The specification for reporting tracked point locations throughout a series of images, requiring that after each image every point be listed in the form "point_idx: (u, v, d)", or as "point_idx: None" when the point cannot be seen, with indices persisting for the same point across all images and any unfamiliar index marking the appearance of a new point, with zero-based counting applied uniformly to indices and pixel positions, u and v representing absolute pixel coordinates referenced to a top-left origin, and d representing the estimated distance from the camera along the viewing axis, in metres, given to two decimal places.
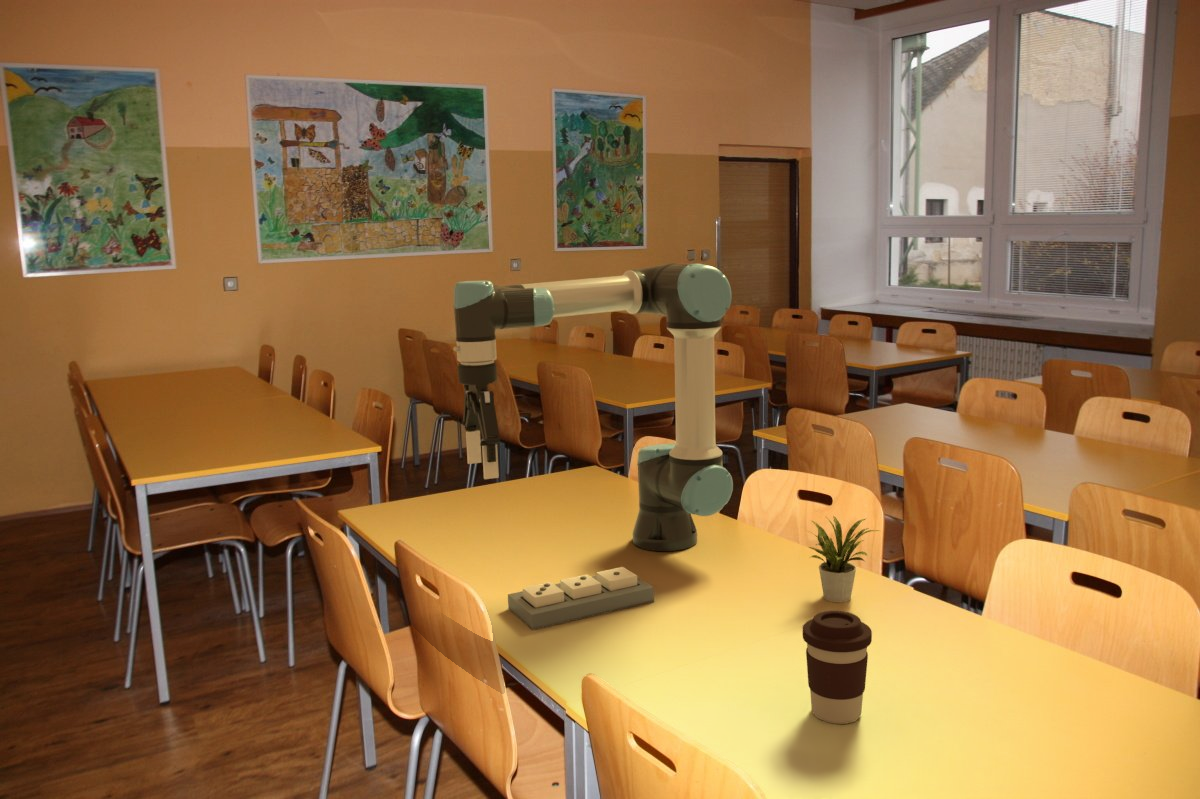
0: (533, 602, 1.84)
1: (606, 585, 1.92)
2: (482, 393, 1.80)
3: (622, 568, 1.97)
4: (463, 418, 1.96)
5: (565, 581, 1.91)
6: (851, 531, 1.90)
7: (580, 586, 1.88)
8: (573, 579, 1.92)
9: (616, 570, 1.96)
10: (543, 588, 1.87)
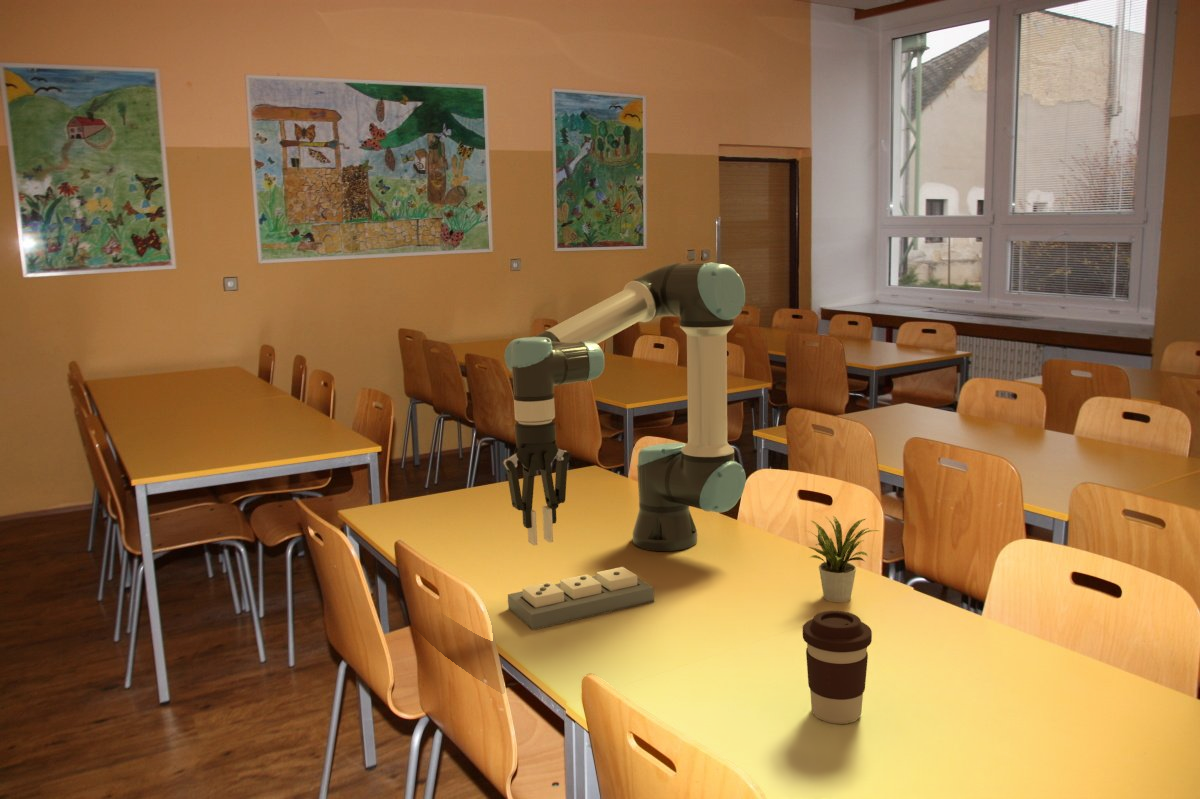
0: (533, 602, 1.84)
1: (606, 585, 1.92)
2: (503, 461, 1.80)
3: (622, 568, 1.97)
4: (558, 492, 1.87)
5: (565, 581, 1.91)
6: (851, 531, 1.90)
7: (580, 586, 1.88)
8: (573, 579, 1.92)
9: (616, 570, 1.96)
10: (543, 588, 1.87)
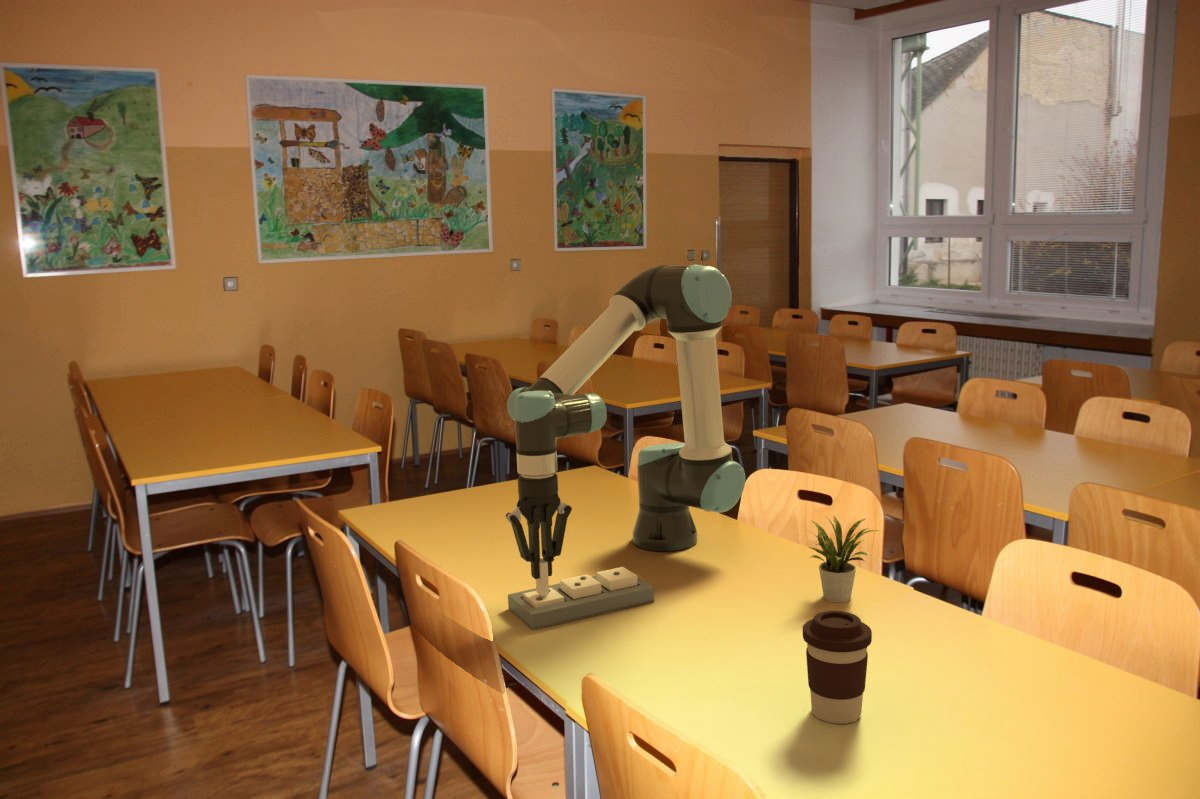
0: None
1: (606, 585, 1.92)
2: (506, 516, 1.82)
3: (622, 568, 1.97)
4: None
5: (565, 581, 1.91)
6: (851, 531, 1.90)
7: (580, 586, 1.88)
8: (573, 579, 1.92)
9: (616, 570, 1.96)
10: None
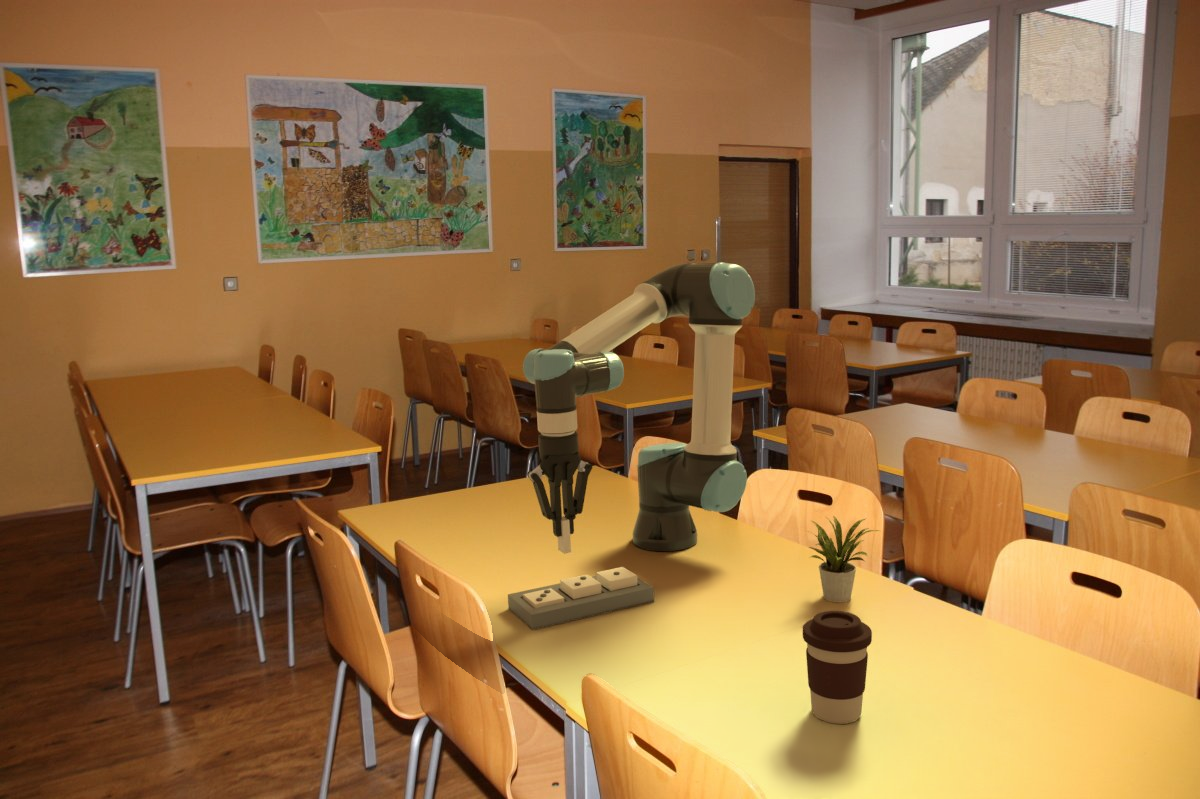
0: None
1: (606, 585, 1.92)
2: (528, 474, 1.83)
3: (622, 568, 1.97)
4: None
5: (565, 581, 1.91)
6: (851, 531, 1.90)
7: (580, 586, 1.88)
8: (573, 579, 1.92)
9: (616, 570, 1.96)
10: (543, 594, 1.87)
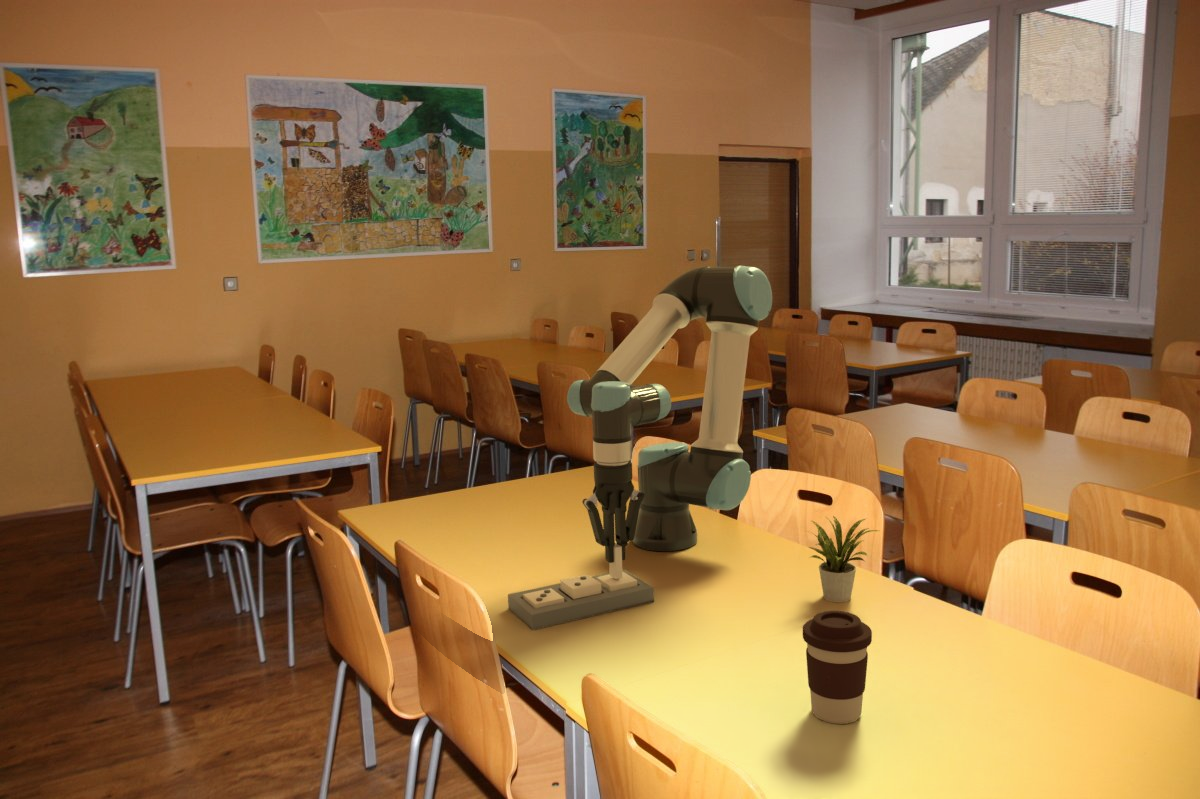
0: None
1: None
2: (583, 502, 1.89)
3: (622, 573, 1.97)
4: None
5: (565, 581, 1.91)
6: (851, 531, 1.90)
7: (580, 586, 1.88)
8: (573, 579, 1.92)
9: None
10: (543, 594, 1.87)
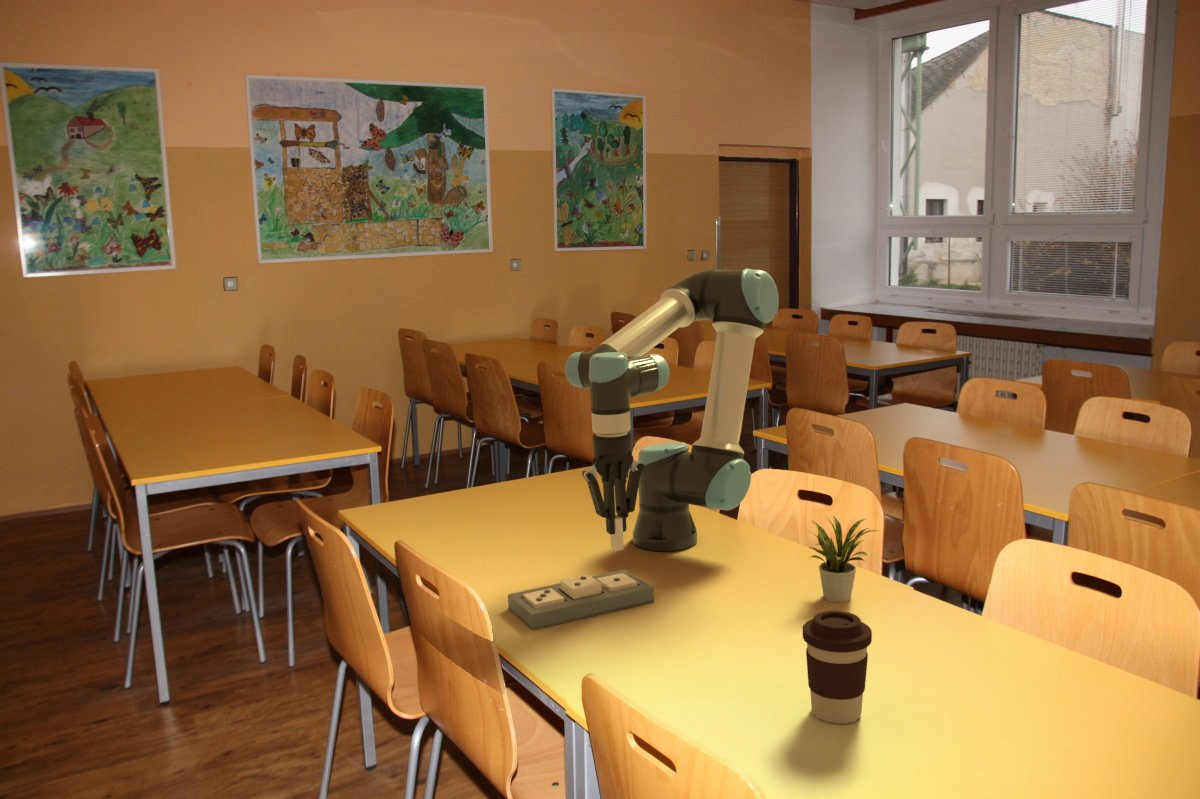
0: None
1: None
2: (583, 474, 1.88)
3: (622, 574, 1.97)
4: None
5: (565, 581, 1.91)
6: (851, 531, 1.90)
7: (580, 586, 1.88)
8: (573, 579, 1.92)
9: (616, 576, 1.96)
10: (543, 594, 1.87)
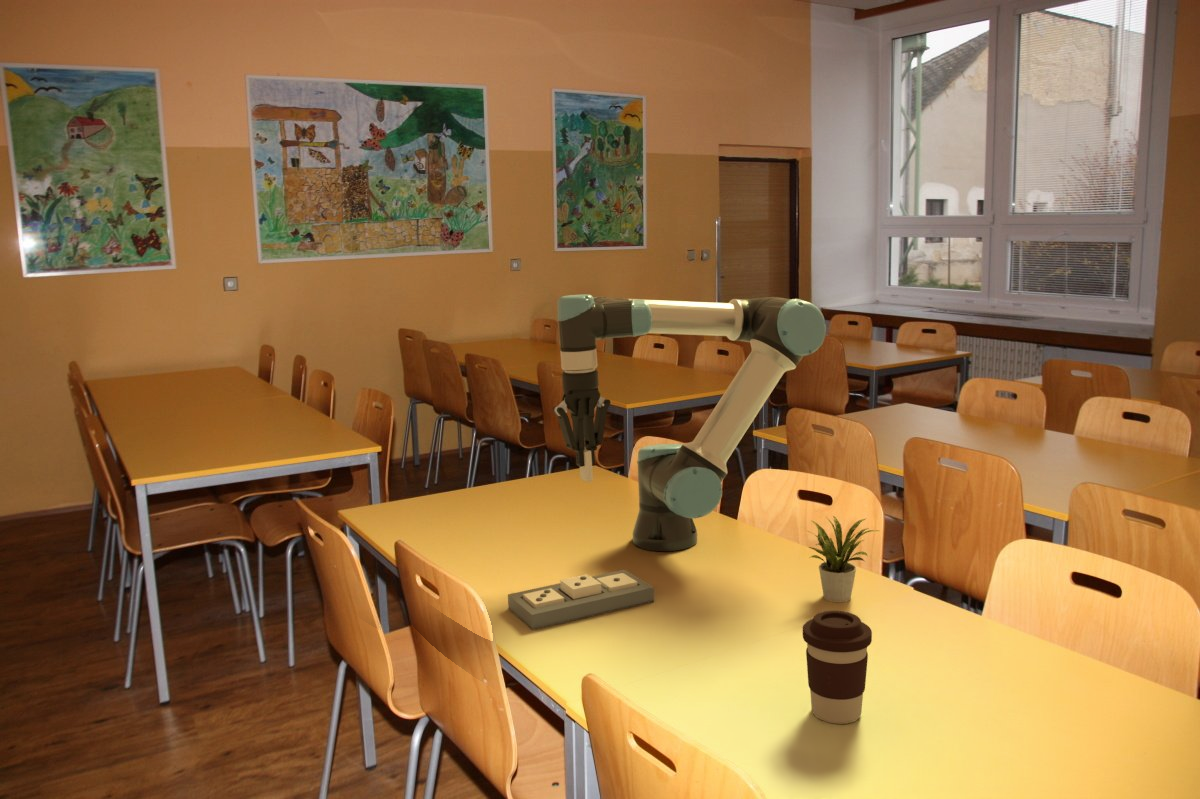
0: None
1: None
2: (553, 409, 2.00)
3: (622, 574, 1.97)
4: None
5: (565, 581, 1.91)
6: (851, 531, 1.90)
7: (580, 586, 1.88)
8: (573, 579, 1.92)
9: (616, 576, 1.96)
10: (543, 594, 1.87)
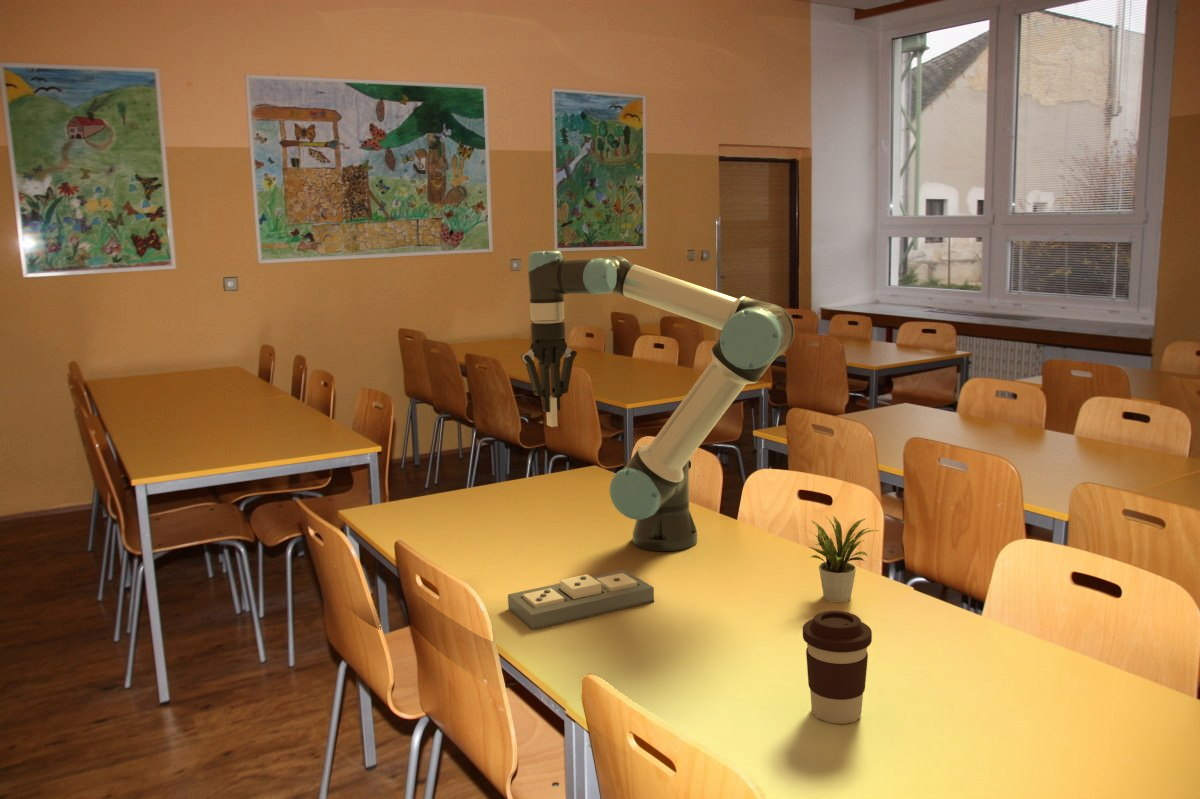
0: None
1: None
2: (521, 357, 2.15)
3: (622, 574, 1.97)
4: (562, 385, 2.21)
5: (565, 581, 1.91)
6: (851, 531, 1.90)
7: (580, 586, 1.88)
8: (573, 579, 1.92)
9: (616, 576, 1.96)
10: (543, 594, 1.87)
